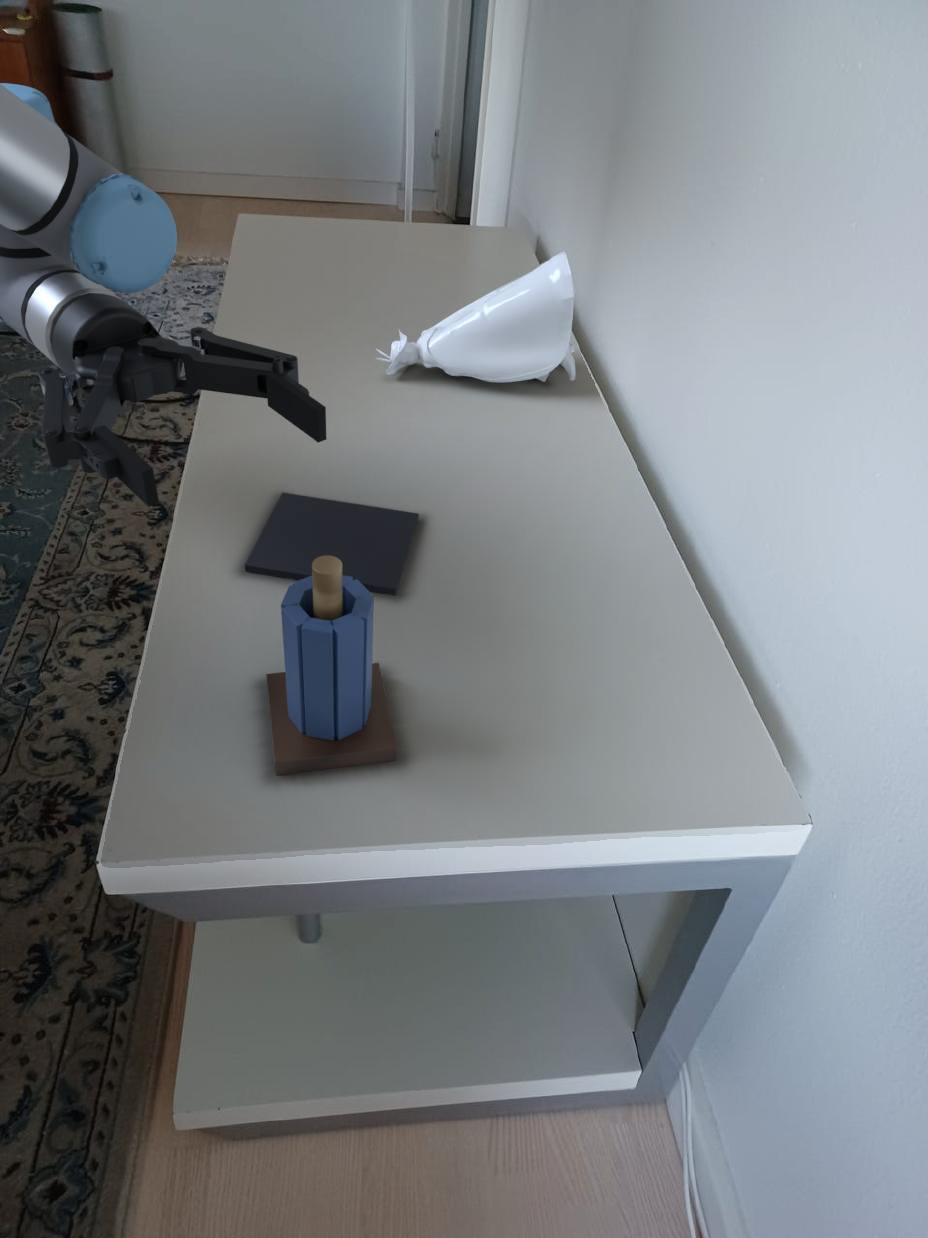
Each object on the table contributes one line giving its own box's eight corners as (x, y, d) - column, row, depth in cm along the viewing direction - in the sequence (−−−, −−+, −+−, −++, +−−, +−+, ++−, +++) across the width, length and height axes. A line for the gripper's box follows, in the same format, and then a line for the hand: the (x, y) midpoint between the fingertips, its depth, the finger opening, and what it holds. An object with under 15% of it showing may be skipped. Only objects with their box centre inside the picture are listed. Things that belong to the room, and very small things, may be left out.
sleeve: (280, 732, 67) (271, 623, 60) (302, 675, 71) (296, 567, 64) (359, 745, 67) (361, 637, 59) (376, 687, 71) (379, 580, 64)
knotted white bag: (559, 363, 122) (373, 361, 119) (571, 237, 114) (372, 232, 110) (582, 396, 111) (378, 395, 108) (598, 259, 102) (377, 254, 99)
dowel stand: (275, 775, 66) (262, 615, 55) (266, 686, 72) (253, 528, 62) (397, 760, 68) (406, 603, 57) (378, 675, 74) (383, 519, 64)
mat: (244, 571, 82) (244, 564, 82) (282, 498, 91) (282, 492, 91) (395, 595, 82) (395, 588, 81) (418, 519, 91) (419, 513, 90)
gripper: (233, 342, 82) (381, 445, 71) (-51, 425, 69) (78, 566, 58) (225, 260, 77) (383, 356, 66) (-84, 331, 63) (52, 467, 53)
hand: (241, 454), depth 62 cm, fingers open, 13 cm apart
